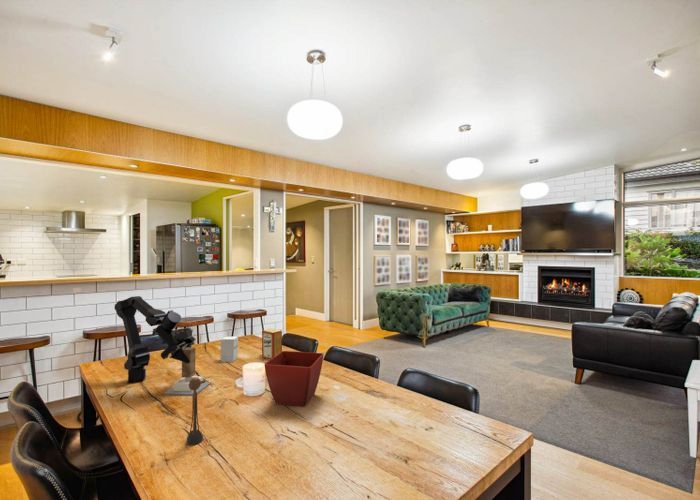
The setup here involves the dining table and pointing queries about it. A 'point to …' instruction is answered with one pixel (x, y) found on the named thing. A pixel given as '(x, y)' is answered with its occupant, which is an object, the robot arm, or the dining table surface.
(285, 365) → the plant pot
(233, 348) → the supplement box
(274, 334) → the baking soda box
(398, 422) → the dining table surface
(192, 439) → the wooden tabletop sculpture
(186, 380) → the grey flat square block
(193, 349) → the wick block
